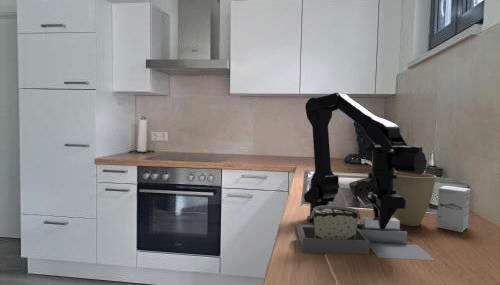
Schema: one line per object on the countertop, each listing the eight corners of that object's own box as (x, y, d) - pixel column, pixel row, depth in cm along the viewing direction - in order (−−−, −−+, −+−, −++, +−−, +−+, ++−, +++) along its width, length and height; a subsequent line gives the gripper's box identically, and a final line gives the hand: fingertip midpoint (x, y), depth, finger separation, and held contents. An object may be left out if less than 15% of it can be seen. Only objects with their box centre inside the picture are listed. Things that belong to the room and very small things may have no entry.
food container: (351, 242, 92) (352, 205, 92) (359, 251, 86) (361, 211, 86) (305, 241, 92) (306, 204, 91) (310, 250, 86) (311, 210, 85)
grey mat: (366, 244, 91) (366, 242, 91) (417, 246, 90) (417, 245, 90) (378, 259, 81) (378, 257, 81) (435, 261, 80) (435, 260, 80)
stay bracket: (354, 236, 98) (355, 223, 97) (398, 238, 97) (398, 225, 97) (360, 243, 92) (360, 230, 91) (406, 245, 91) (407, 232, 91)
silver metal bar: (361, 228, 96) (362, 216, 96) (395, 229, 95) (395, 217, 95) (364, 231, 93) (365, 219, 93) (399, 233, 92) (400, 221, 92)
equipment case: (295, 227, 105) (296, 215, 105) (348, 229, 104) (349, 217, 104) (302, 252, 84) (303, 238, 84) (369, 255, 83) (369, 241, 83)
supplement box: (435, 227, 108) (438, 187, 107) (442, 223, 113) (444, 184, 113) (463, 233, 103) (465, 191, 102) (468, 228, 108) (471, 188, 108)
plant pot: (444, 228, 107) (447, 177, 106) (401, 230, 104) (404, 177, 103) (412, 215, 122) (414, 170, 121) (374, 217, 119) (376, 170, 118)
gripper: (344, 164, 103) (342, 216, 104) (361, 173, 84) (358, 236, 85) (383, 165, 102) (380, 218, 103) (408, 175, 84) (405, 238, 85)
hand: (380, 226), depth 94 cm, fingers closed on silver metal bar, 3 cm apart
